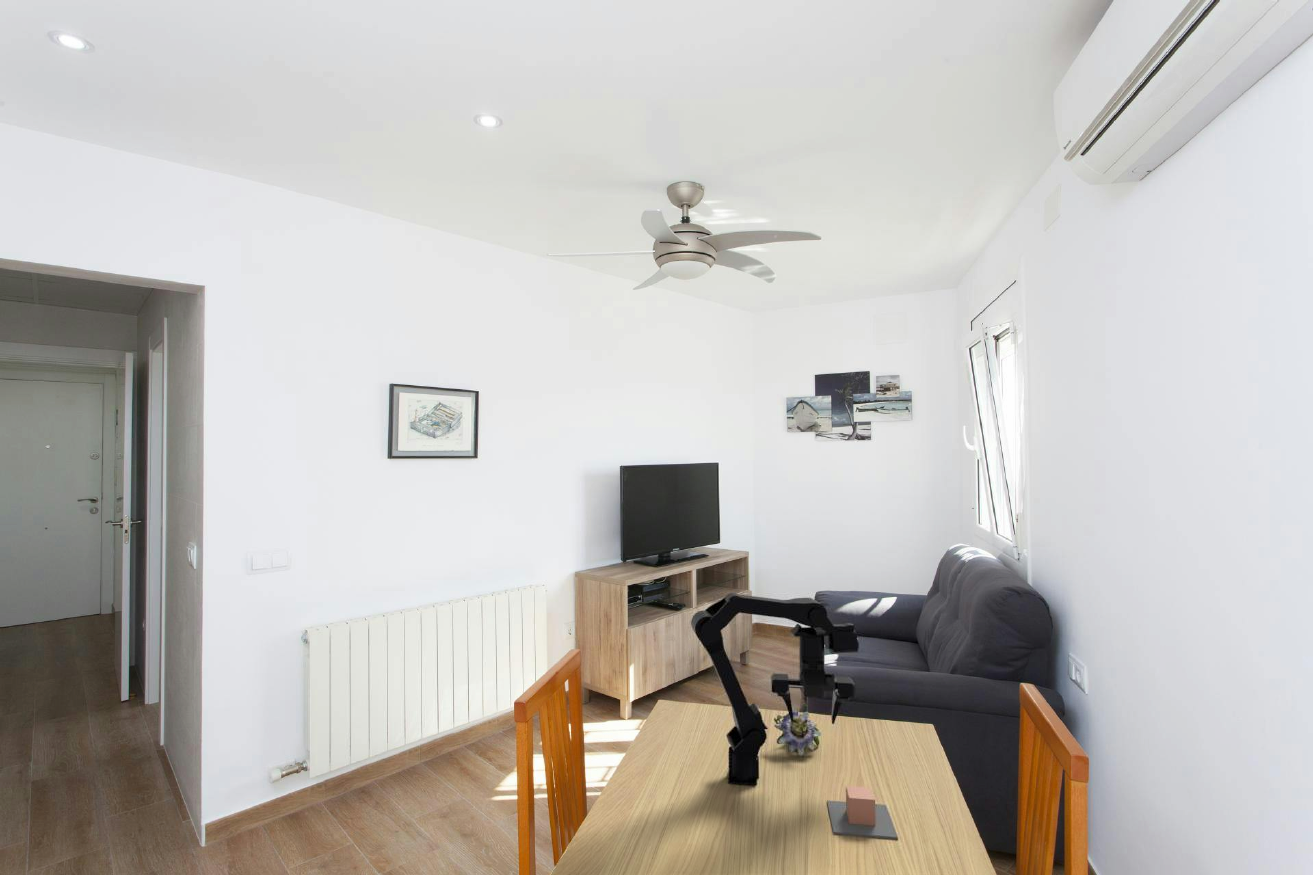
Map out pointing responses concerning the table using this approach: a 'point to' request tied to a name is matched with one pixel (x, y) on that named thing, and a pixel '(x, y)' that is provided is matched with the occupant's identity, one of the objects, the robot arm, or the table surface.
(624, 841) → the table surface
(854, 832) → the mat
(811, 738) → the passion flower
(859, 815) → the cube
